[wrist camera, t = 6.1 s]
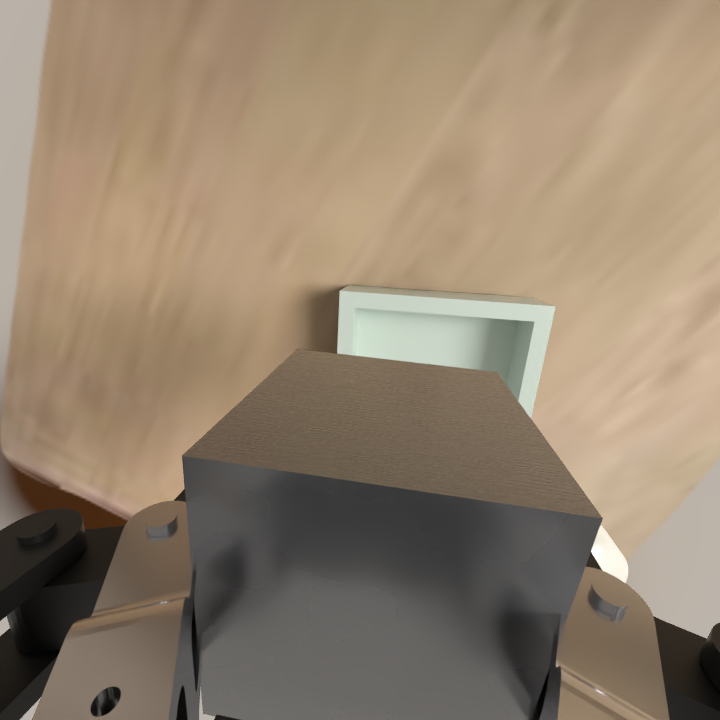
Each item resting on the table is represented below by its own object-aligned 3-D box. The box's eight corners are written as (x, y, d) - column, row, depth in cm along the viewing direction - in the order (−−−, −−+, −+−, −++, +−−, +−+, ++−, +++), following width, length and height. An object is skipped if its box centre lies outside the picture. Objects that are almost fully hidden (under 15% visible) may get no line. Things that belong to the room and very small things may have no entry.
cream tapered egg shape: (593, 486, 29) (639, 544, 23) (575, 545, 31) (614, 613, 25) (516, 476, 29) (542, 531, 24) (503, 535, 31) (524, 600, 26)
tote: (533, 297, 25) (555, 306, 21) (500, 459, 29) (514, 491, 25) (349, 284, 26) (339, 290, 23) (341, 441, 30) (332, 468, 27)
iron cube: (497, 371, 11) (602, 518, 5) (462, 535, 12) (509, 780, 7) (297, 348, 11) (182, 455, 5) (293, 508, 13) (203, 714, 7)
